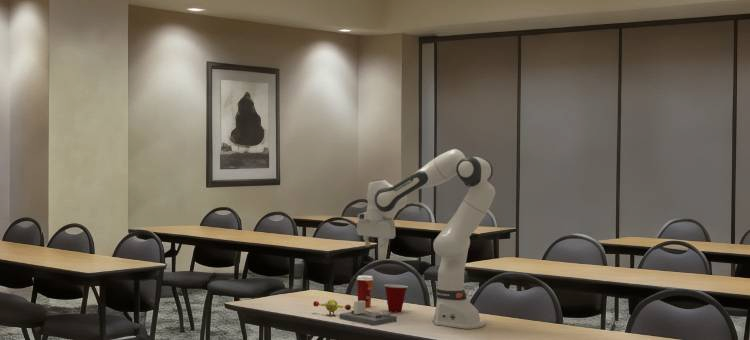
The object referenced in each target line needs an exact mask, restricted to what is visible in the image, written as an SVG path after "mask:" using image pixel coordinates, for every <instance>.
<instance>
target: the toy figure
mask: <svg viewBox="0 0 750 340" xmlns="http://www.w3.org/2000/svg"><path fill="white" fill-rule="evenodd" d="M313 306H314V307H319V306H321V307H325V308H326V310H327V311H328V312H329V314H328V316H335V312H336V311H337V310H338V308H339V309H343V308H344V309H345V310H346V311H350V310H351V308H352V307H351V305H350V304H345V305H344V306H343V305H339V304H338V302H337V301H336V300H334V299H329V300H327V301H325V302H324V303H323V302H322V303H320V302H319V301H318V300H314V301H313Z"/></svg>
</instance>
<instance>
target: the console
mask: <svg viewBox="0 0 750 340" xmlns="http://www.w3.org/2000/svg"><path fill="white" fill-rule="evenodd" d="M339 319H340V320H345V321H349V322H355V323H360V324H363V325H364V324H365V325H368V326H369V325H370V326H379V325H385V324H390V323H395V322H397V316H395V315H392V312H389V311H382V313H378V312H373V311H367V310H365V313H361V314H354V309H352V310H351V311H349V312H343V313H339Z"/></svg>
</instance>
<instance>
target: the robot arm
mask: <svg viewBox="0 0 750 340" xmlns="http://www.w3.org/2000/svg"><path fill="white" fill-rule="evenodd" d="M493 174H494V168H493V165H492V164H491V162H490V161H488V160H487V159H485V158H482V157H478V156H466V155H465V154H464V153H463V152H462V151H461V150H459V149H457V148H452V149H450V150H448V151H446V152H443V153H441V154H440V155H438V156H436V157H434V158H433V159H431V160H430V161H428V162H427V163H426V164H425V165H424V166H422V167H420V168H419V169H418V170H417V171H415V172H414V173H413V174H411V175H410V176H408V177H407V178H405V179H403V180H402V181H399V182H398V183H396V184H395V185H393V184H391V183H390V182H388V181H387V180H386V179H376V180H371V181H370V182H369V183H368V186H367V196H366V198H367V199H366V200H367V201H366V202H367V207H366V211H364V212H362V213H358V214H357V219H358V220H357V224H356V233H357V235H358V236H363V237H362V238H363V241H364V243H365V244H364V246H365V247H370V246H371V242H370V241H369V238H370V237H373V238H380V239H381V238H382V240H383V242H382V243H381V244H380V245H381V247H380V248H381V249H387V244H388V242H389V239H390V240H391V239H392V240H393V239H395V238H396V226H395V225H396V224H395V223H396V222H395V220H394V219H393V217H387V212H390V211H398V210H401V209H403V208H406V206H407V204H408V202H409V197H408V195H410V194H411V193H413V192H415V191H418V190H421V189H425V188H431V187H437V186H440V185H441V184H444V183H446V182H448V181H449V180H451V179H452V178H454V177H455V176H458V177H459V179H460V180H461V181H462V183H464V185H465V187H468V191H467V193H466V195H465V197H464V198H463V200H462V202H461V203H460V205H459V206H458V208H457V210H456V211H455V213H454V214H453V216H452V217H451V218H450V220H449V221H448V222H447V223H446V224H445V226H444V227H443V229H441V231H440V233H438V235H437V236H436V238H435V239H434V240H433V243H432V245H433V246H432V247H433V251H434V252H435V253H436V254H437V256H439V257H441V260H440V264H439V267H438V270H437V288H436V291H435V293H436V295H435V297H436V304H435V305H436V306H435V310H434V311H435V312H434V315H433V319H432V322H433V323H434V326H435V325H436V326H443V327H449V328H450V327H451V328H455V329H456V328H457V329H465V330H471V329H472V330H473V329H478V328H483V327H484V326H485V325H486V323H485V322H483V321H480V313H479V310H478V309H477V308H476V307H475V306H474V305H473V304H472V303H471V301H469V299H467V296H468V295H469V293H470V292H466V291H465V289H464V287H465V285H464V283H465V268H466V264H467V258H468V252H469V249H470V245H471V239H470V237H471V235H472V234H473V233H474V232H475V231H476V230H477V229H478V227H479V225H480V224H481V223H482V221H483V219H484V217H486V214H487V213H488V211H489V209H490V207H491V205H492V204H493V200H494V198H495V196H496V189H495V187H494V186H493V185H492V184H491V183H490V182H489V181H490V180H491V179H492V177H493Z"/></svg>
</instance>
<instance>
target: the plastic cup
mask: <svg viewBox="0 0 750 340" xmlns="http://www.w3.org/2000/svg"><path fill="white" fill-rule="evenodd" d="M383 286H384V289H385V294H386V295H385V296H386V304H387V309H388V310H387V311H388V312H390V313H402V310H403V306H404V300H405V297H406V292H407V289H408V287H409V286H408V285H401V284H390V283H389V284H384V285H383Z"/></svg>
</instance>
